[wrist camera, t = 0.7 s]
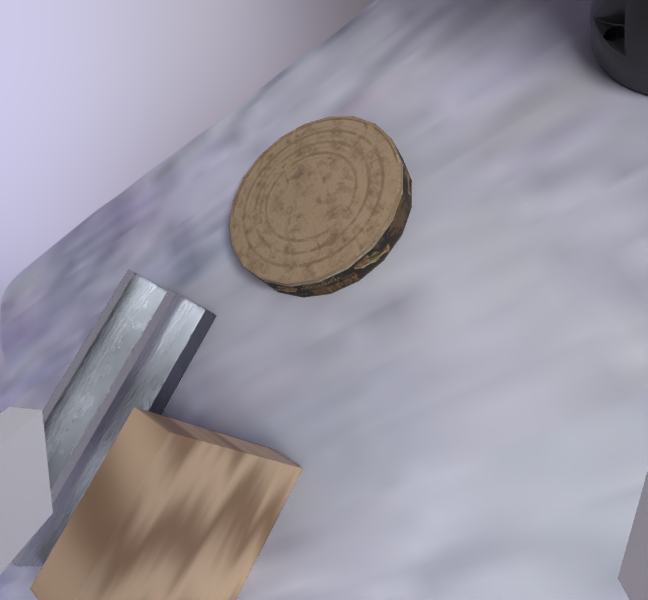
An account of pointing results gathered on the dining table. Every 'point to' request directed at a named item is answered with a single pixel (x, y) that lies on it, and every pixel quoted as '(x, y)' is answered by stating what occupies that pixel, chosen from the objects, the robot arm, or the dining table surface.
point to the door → (169, 516)
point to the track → (112, 391)
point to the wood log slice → (321, 207)
